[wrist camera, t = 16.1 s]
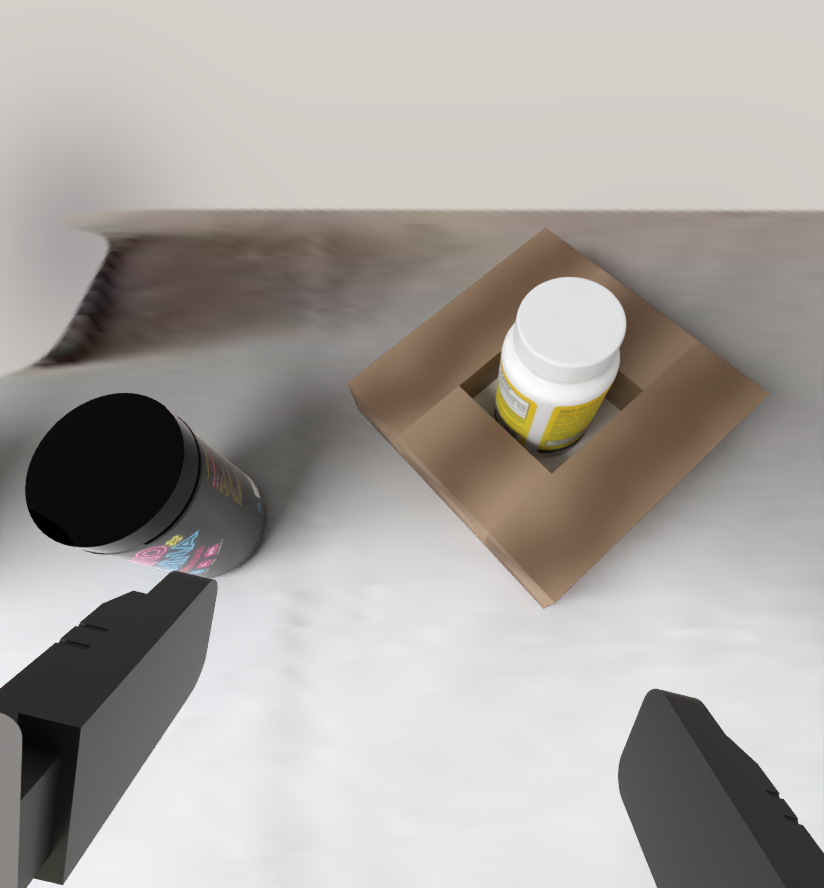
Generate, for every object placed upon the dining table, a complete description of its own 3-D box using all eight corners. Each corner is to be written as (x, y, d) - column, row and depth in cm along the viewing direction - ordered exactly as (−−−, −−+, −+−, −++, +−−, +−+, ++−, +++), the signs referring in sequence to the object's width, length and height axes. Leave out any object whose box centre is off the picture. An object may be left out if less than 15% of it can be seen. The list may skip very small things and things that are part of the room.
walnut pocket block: (358, 409, 33) (347, 382, 30) (537, 265, 36) (545, 227, 33) (543, 608, 28) (554, 602, 24) (736, 421, 30) (769, 393, 27)
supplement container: (138, 527, 31) (-6, 471, 22) (223, 448, 33) (125, 364, 23) (205, 607, 29) (80, 585, 20) (293, 519, 31) (217, 459, 21)
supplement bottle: (597, 390, 32) (652, 285, 23) (573, 471, 30) (624, 392, 21) (508, 364, 33) (527, 255, 24) (480, 441, 31) (490, 354, 22)
